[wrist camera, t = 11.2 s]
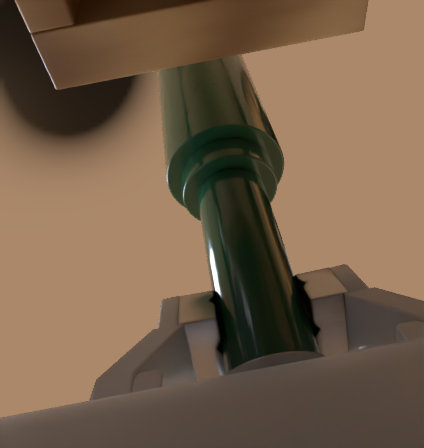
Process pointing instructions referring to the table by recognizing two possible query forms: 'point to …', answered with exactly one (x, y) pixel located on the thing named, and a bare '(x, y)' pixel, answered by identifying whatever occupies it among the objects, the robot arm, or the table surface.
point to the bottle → (235, 209)
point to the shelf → (172, 32)
